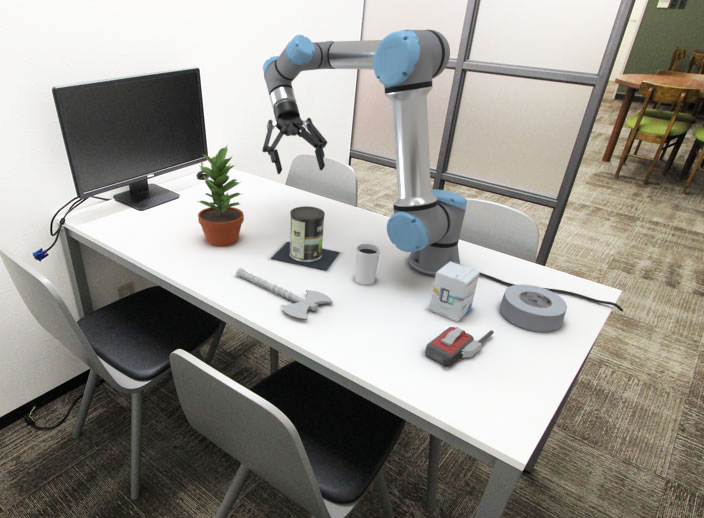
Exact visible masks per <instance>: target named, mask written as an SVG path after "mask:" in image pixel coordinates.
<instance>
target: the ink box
mask: <svg viewBox="0 0 704 518" xmlns="http://www.w3.org/2000/svg"><path fill="white" fill-rule="evenodd" d="M479 273H481V271H480V270H478V269H476V268H471V267H469V266H465V265H462V264H461V263H460V264H457V263H454V262H451V261H450V262H449V263H447V264H446V265H445V266H444V267H442V268H441V269H440V270H438V271H437V272H436V276H434V282H433V287H432V292H431V298H430V303H429V308H428V310H429V311H430V312H433V313H435V314H437V315H440V316H442V317H445V318H447V319H450V320H452V321H455V322H456V323H457V322H459V321H460V320H462V318H463V317H464V316H465V315H466V314H467V313H469V311H470V310H471V309H472V306H473V303H474V297H475V293H476V291H477V290H476V289H477V285H478V280H479V276H480V275H479Z"/></svg>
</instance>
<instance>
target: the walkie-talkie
mask: <svg viewBox="0 0 704 518" xmlns="http://www.w3.org/2000/svg"><path fill="white" fill-rule="evenodd" d="M494 333H495V332H494V330H492V329H490V330H489V331H488V332H486V333H485V335H483V336H482V337H481V338H480V339H478V340H474V339H475V338H474V336H473V335H471V334H470V333H468V332H466V331H465V330H464V329H462V328H459V327H458V326H456V327H455V326H449V327H447V329H445V330H443V332H441V333H439V335H437V336H436V337H435V338H434V339H432V340H431V341H430V342H428V343H427V344H426V346H425V351H424V355H425V356H427V357H428V358H430V359H432V360H434V362H435V361H436V362H438V363H439V364H441V365H443V366H445V367H449V366H451V365H452V364H454V362H456V361H457V360H458V359H459V358H461V359H464V358H465V359H466V358H472V357H473V356H474V355H476V354H477V353H478V352H480V351H481V349H482V345H483V344H484V343H485V342H486V341H487V340H488V339H489V338H490V337H491V336H493V334H494Z"/></svg>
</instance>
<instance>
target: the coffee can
mask: <svg viewBox="0 0 704 518" xmlns="http://www.w3.org/2000/svg"><path fill="white" fill-rule="evenodd" d="M289 215H290V228H289V229H290V230H289V231H290V232H289V242H290V257H291V258H292V259H294V260H297V261H301V262H313V261H317V260H319V259H320V258H321V257H322V249H323V243H324V225H325V215H326V213H325V211H324V210H323V209H321V208H319V207H316V206H308V205H307V206H305V205H304V206H298V207H294V208H292V209H291V210H290V212H289Z"/></svg>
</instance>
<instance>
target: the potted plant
mask: <svg viewBox="0 0 704 518" xmlns="http://www.w3.org/2000/svg"><path fill="white" fill-rule="evenodd" d="M228 150H229V149H228V145H226V146H225V147H222V148H220V149H219V150H218V152H217V153H216V154H215V156H213V157H210V156H209V155H208V154H203V157H204V158H205V159H206V160H207V161H208V162H209V164H210V167H208V166H201V165H200V164H199V167H200V169H199V171H202V172H203V173H205V174H206V175H207V176H208V177H209V178H210V179H208V178H207V177H206V176H203V178H204V179H205V180H204V182H205V184H206V186H207V187H208V189H209V190H210V193H211V194H210V193H207V192H206V193H205V194H204V195H205V196H208V197H210V198H211V199H212V201H211V202H209V201H205V200H197V202H198V203H200V204H202V205H204V206H206V207H207V208H204V209H202V210H200V211H198V214H197V220H198V224H199V225H200V226H201V230H202V232H203V235H204V237H205V239H206V242H207V244H209V245H211V246H214V247H229V246H232V245H235V244H236V243H237V242H238V240H239V236H240V232H241V227H242V225H243V222H244V221H245V215H244V211H242V210H241V209H239V208H237V207H235V206H240V205H241V203H240V202H238V201H237V202H231V200H232V199H234V198H236V197H238V196H241V195H243V194H244V193H240V192H234V193H231V194H229V192H228V191H229V190H231V189H233V188H234V187H236V186H238V185H240V184H241V183H242V181H240V182H238V179H237V178H234V179H231V180H229V179H230V176H229V175H228V173H229V172H230V170H231V169H233V168H234V167H235V166H236V164H233V165H231V163H230V162H231V159H232V158H233V156H230V157H229V158H226V157H227V153H228ZM228 163H229V164H228ZM226 192H227V193H226ZM225 193H226V194H225Z"/></svg>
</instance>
